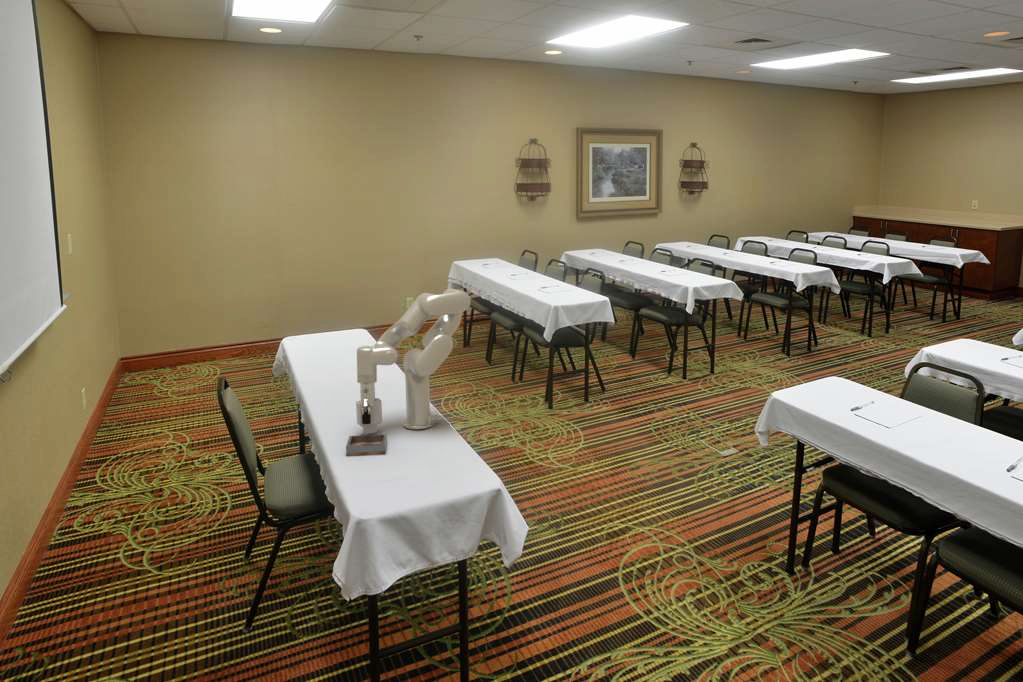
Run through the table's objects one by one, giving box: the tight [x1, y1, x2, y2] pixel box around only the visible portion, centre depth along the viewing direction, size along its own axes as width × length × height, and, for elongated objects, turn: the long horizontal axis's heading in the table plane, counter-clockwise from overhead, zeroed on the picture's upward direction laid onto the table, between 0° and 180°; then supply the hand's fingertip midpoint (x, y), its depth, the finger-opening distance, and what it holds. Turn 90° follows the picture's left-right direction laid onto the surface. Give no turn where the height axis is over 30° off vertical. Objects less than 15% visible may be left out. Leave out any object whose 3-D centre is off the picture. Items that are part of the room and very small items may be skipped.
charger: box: [355, 397, 383, 435], centre depth 261 cm, size 5×9×15 cm, turn 123°
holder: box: [345, 433, 388, 457], centre depth 248 cm, size 14×12×4 cm
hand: (367, 420), depth 260 cm, fingers open, 9 cm apart
